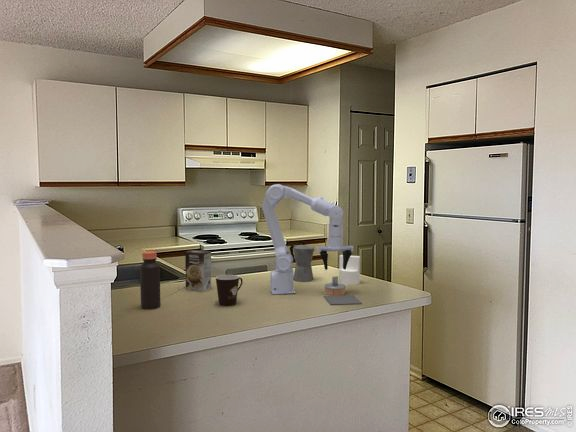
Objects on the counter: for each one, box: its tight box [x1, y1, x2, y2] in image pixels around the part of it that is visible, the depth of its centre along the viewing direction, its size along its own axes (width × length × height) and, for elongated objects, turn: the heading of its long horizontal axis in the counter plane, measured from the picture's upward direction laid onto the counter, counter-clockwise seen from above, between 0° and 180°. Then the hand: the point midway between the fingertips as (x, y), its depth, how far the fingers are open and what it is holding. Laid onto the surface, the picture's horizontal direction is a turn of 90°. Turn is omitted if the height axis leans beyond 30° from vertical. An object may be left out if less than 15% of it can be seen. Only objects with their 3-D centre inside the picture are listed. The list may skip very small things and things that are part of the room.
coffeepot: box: [289, 240, 316, 283], centre depth 210 cm, size 15×9×18 cm, turn 44°
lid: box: [324, 276, 346, 290], centre depth 186 cm, size 8×8×4 cm
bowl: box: [324, 287, 346, 296], centre depth 186 cm, size 8×8×2 cm
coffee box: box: [184, 249, 212, 293], centre depth 191 cm, size 9×6×16 cm
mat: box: [323, 294, 363, 306], centre depth 175 cm, size 12×12×1 cm
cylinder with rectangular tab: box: [338, 254, 361, 286], centre depth 204 cm, size 9×9×12 cm
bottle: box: [139, 250, 162, 310], centre depth 165 cm, size 7×7×20 cm
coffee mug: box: [215, 274, 243, 307], centre depth 170 cm, size 12×9×10 cm
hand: (335, 269), depth 185 cm, fingers open, 7 cm apart
